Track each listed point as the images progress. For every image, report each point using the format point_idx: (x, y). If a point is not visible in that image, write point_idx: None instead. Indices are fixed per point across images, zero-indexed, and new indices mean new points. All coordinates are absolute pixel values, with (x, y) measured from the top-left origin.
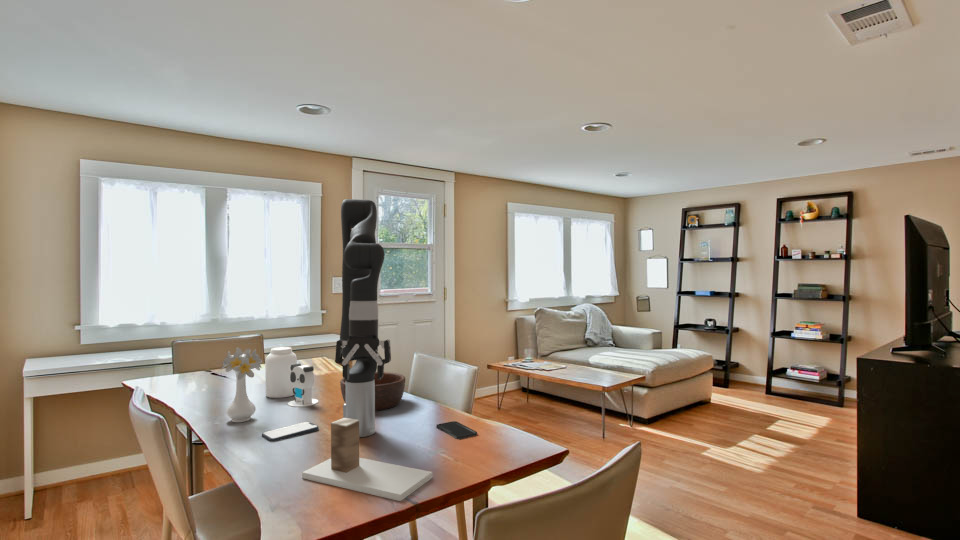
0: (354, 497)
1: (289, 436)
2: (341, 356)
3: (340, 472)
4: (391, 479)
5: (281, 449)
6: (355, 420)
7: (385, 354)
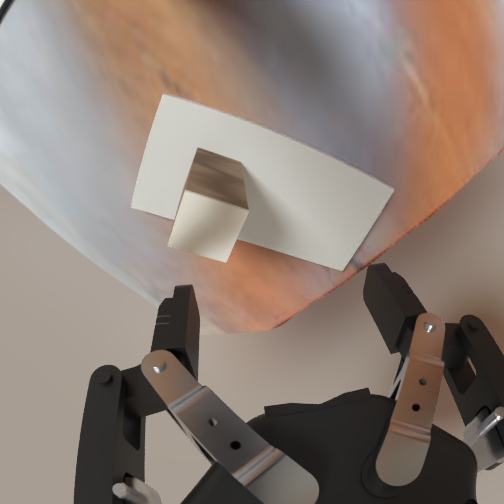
0: (265, 260)
1: (2, 12)
2: (120, 409)
3: None
4: (324, 223)
5: (15, 74)
6: (238, 217)
7: (458, 397)
